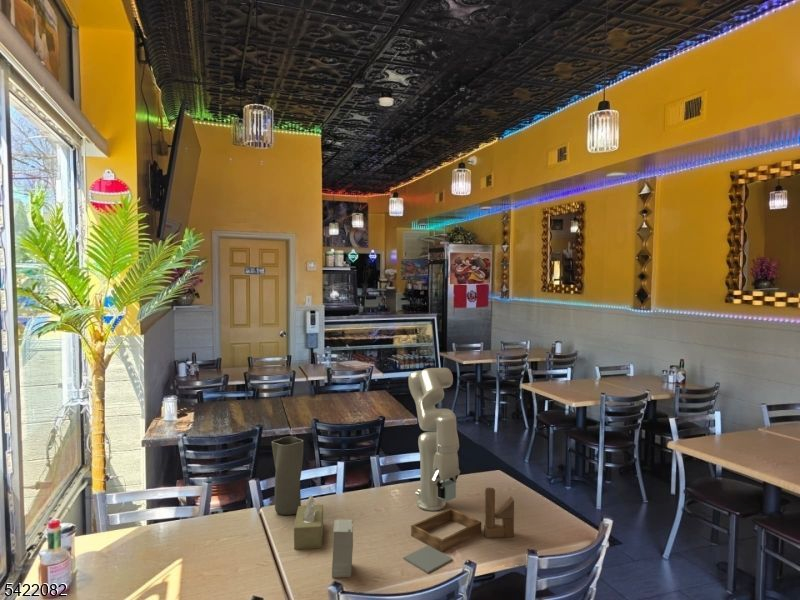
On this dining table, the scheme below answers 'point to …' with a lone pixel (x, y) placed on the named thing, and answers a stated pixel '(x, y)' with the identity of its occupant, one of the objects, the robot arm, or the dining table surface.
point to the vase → (287, 474)
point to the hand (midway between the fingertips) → (446, 494)
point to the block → (449, 490)
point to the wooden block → (498, 516)
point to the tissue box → (308, 526)
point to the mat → (427, 559)
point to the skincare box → (342, 548)
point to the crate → (444, 544)
